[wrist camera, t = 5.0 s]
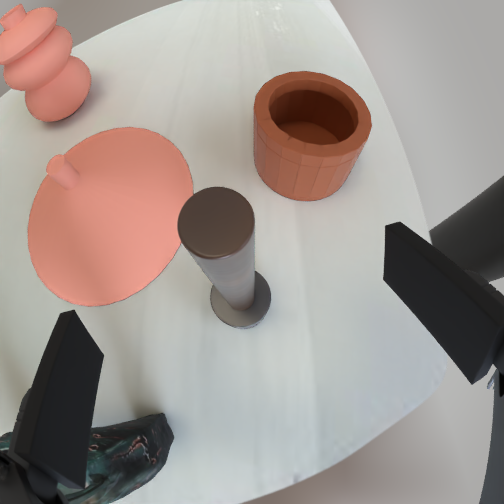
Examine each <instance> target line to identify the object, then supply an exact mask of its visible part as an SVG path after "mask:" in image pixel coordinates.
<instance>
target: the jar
mask: <svg viewBox="0 0 504 504" xmlns="http://www.w3.org/2000/svg"><path fill="white" fill-rule="evenodd" d="M371 127H372V124H371V115H370V112H369V110H368V108H367V106H366V104H365V102H364V101H363V99H362V98H361V97H360V96H359V95H358V94H357V93H356V92H355V91H354V90H353V88H351V87H350V86H348V85H346V84H345V83H343V82H342V81H340V80H338V79H336V78H333V77H330V76H328V75H325V74H321V73H315V72H309V71H300V72H289V73H285V74H282V75H279V76H276V77H274V78H273V79H271V80H269V81H268V82H266V83H265V84H264V85H263V86H262V88H261V89H260V90H259V92H258V93H257V95H256V97H255V103H254V161H255V166H256V169H257V172H258V174H259V175H260V177H261V178H262V180H263V181H264V182H265V183H266V184H267V185H268V186H269V187H270V188H271V189H272V190H274V191H275V192H277V193H278V194H280V195H282V196H285V197H287V198H290V199H294V200H300V201H313V200H319V199H323V198H325V197H328V196H330V195H332V194H333V193H334V192H336V191H337V190H338V189H339V188H340V187H341V186H342V184H343V183H344V181H345V180H346V179H347V177H348V175H349V173H350V171H351V169H352V168H353V166H354V164H355V162H356V160H357V158H358V156H359V154H360V153H361V151H362V149H363V147H364V145H365V143H366V141H367V139H368V136H369V133H370V130H371Z"/></svg>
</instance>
